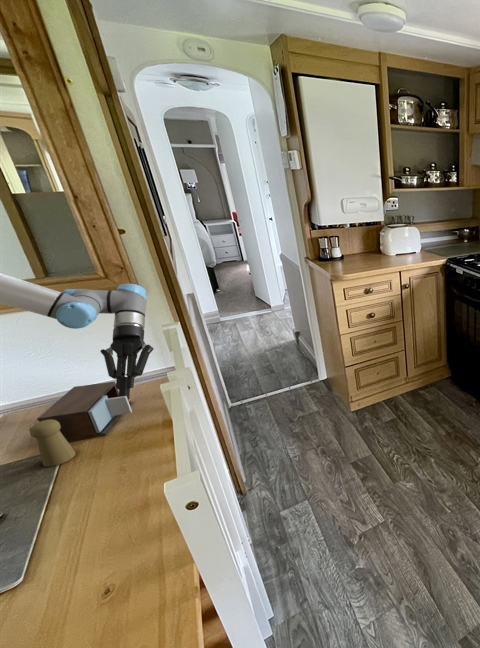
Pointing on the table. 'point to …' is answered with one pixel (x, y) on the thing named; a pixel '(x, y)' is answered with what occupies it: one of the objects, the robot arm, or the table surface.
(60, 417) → the cabinet
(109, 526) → the table surface
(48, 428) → the cork
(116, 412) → the sliding door
